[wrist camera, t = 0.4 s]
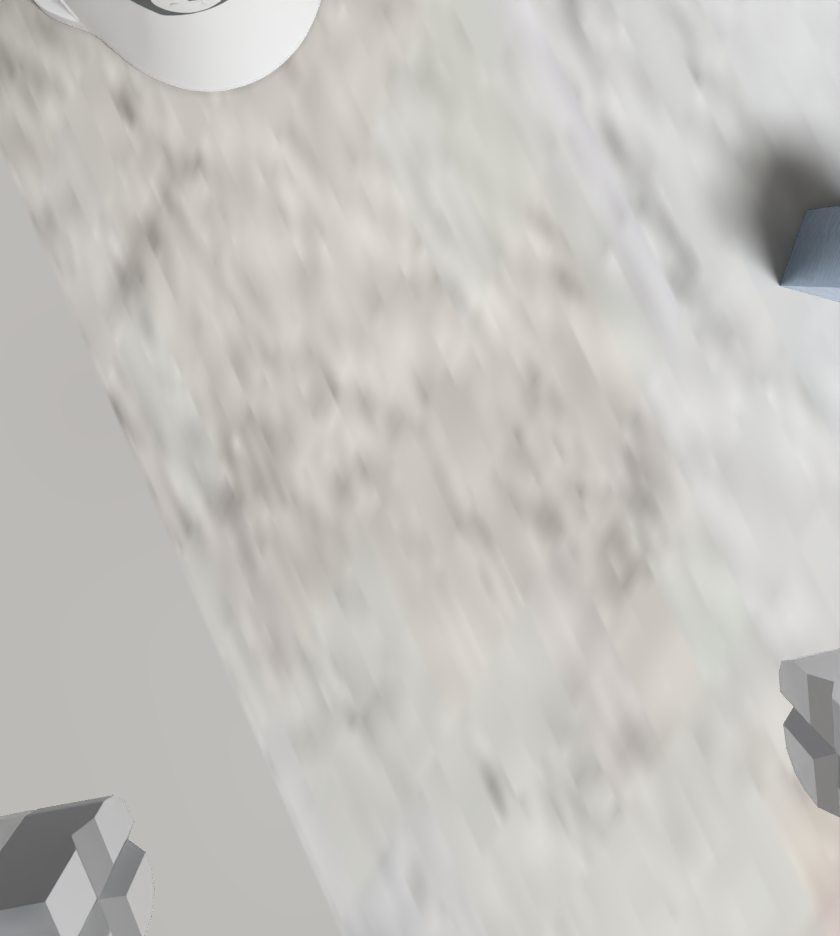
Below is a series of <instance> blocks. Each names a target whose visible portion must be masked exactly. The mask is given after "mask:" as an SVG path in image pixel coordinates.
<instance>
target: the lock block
mask: <svg viewBox="0 0 840 936" xmlns="http://www.w3.org/2000/svg"><path fill="white" fill-rule="evenodd" d="M780 286H782V287H786V288H789V289H793V290H797V291H800V292H804V293H808V294H811V295H815V296H819V297H822V298H826V299H829V300H833V301H837V302H840V206H834V207H827V208H819V209H812V210H807V211H806V214H805V217H804V220H803V223H802V225H801V228H800V231H799V234H798V236H797V239H796V242H795V245H794V248H793V250H792V253H791V256H790V259H789V262H788V264H787V267H786V270H785V273H784V275H783V278H782V281H781V284H780Z"/></svg>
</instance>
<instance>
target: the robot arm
mask: <svg viewBox="0 0 840 936" xmlns="http://www.w3.org/2000/svg"><path fill="white" fill-rule="evenodd" d="M34 1H35V3H36V4H37V5H38V6H39V8H40V9H41V10H42V11H43V12H44V13H46V14H47V15H49V16H50V17H52V18H54V19H56V20H58V21H60V22H63V23H65V24H68V25H70V26H73V27H76V28H79V29H82V30H85V31H88V32H91V33H92V34H94V35H95V36H97V37H98V38H100V39H101V40H102V41H104V42H105V43H106V44H107V45H108V46H109V47H111V48H112V49H113V50H114V51H115V52H116V53H117V54H119V55H120V56H121V57H122V58H123V59H124V60H126V61H127V62H128V63H130V64H131V65H132V66H134V67H135V68H137V69H138V70H140V71H142V72H143V73H145V74H147V75H148V76H150V77H152V78H154V79H156V80H159V81H161V82H164V83H166V84H169V85H172V86H175V87H179V88H183V89H188V90H195V91H224V90H230V89H235V88H239V87H242V86H245V85H248V84H251V83H253V82H255V81H257V80H259V79H261V78H263V77H265V76H267V75H268V74H270V73H271V72H273V71H274V70H275V69H277V68H278V67H279V66H281V65H282V64H283V63H284V62H285V61H286V60H287V59H288V58H289V57H290V56H291V55H292V54H293V53H294V52H295V50H296V49H297V48H298V46H299V45H300V44H301V42H302V41H303V39H304V38H305V36H306V35H307V33H308V31H309V29H310V27H311V25H312V23H313V21H314V19H315V16H316V14H317V11H318V8H319V5H320V2H321V0H34ZM779 682H780V692H781V693H782V694H783V695H784V697H785V698H786V699H787V700H788V701H789V702H790V703H791V704H792V705H793V706H794V707H793V709H792V711H791V712H790V714H789V716H788V717H787V719H786V721H785V722H784V724H783V726H784V734H785V741H786V749H787V752H788V755H789V757H790V760H791V763H792V766H793V769H794V772H795V774H796V776H797V777H798V779H799V781H800V783H801V784H802V786H803V788H804V790H805V791H806V792H807V794H808V795H809V796H810V798H811V799H812V800H813V802H814V803H815V804H816V805H817V807H819V808H821V809H823V810H825V811H827V812H829V813H832V814H834V815H836V816H838V817H840V648H839V649H834V650H829V651H825V652H820V653H816V654H811V655H806V656H802V657H797V658H793V659H788V660H783V661H781V666H780V670H779ZM133 824H134V821H133V818H132V816H131V814H130V811H129V809H128V807H127V805H126V802H125V800H123V799H121V798H119V797H117V796H114V795H112V796H107V797H102V798H96V799H91V800H85V801H79V802H73V803H68V804H62V805H57V806H51V807H46V808H40V809H37V810H29V811H24V812H19V813H14V814H10V815H5V816H0V936H145V933H146V930H147V927H148V925H149V922H150V919H151V917H152V907H153V899H154V890H155V889H154V882H153V876H152V875H153V874H152V868H151V865H150V863H149V860H148V857H147V854H146V852H145V851H143V850H142V849H141V848H139V847H138V846H136V845H135V844H134V843H132V842H131V841H129V840H128V837H129V834H130V832H131V829H132V827H133Z"/></svg>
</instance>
